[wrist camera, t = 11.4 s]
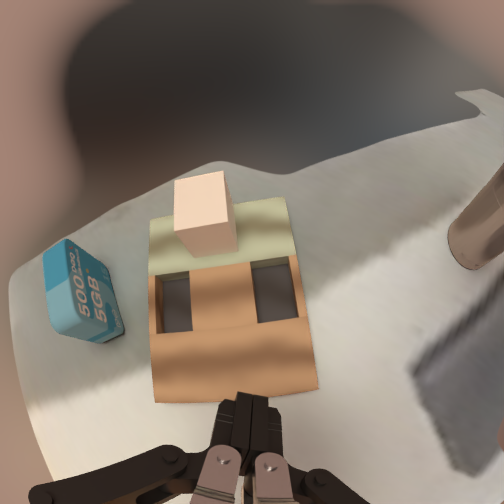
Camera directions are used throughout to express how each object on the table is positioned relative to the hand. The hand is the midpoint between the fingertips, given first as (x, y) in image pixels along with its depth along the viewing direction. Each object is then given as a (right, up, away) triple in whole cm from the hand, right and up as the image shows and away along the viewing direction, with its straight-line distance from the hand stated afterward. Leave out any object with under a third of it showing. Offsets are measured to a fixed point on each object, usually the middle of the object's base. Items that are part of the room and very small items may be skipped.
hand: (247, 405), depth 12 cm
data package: (-23, -1, +27) cm, 35 cm away
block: (-5, +10, +26) cm, 29 cm away
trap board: (-3, +1, +25) cm, 25 cm away
